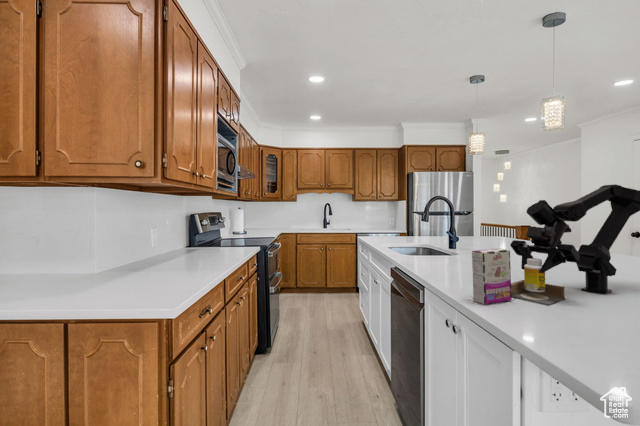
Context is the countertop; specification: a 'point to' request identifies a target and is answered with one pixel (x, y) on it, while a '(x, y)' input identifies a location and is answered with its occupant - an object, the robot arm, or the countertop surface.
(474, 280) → the candy bar box
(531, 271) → the supplement bottle
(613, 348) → the countertop surface
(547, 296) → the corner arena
